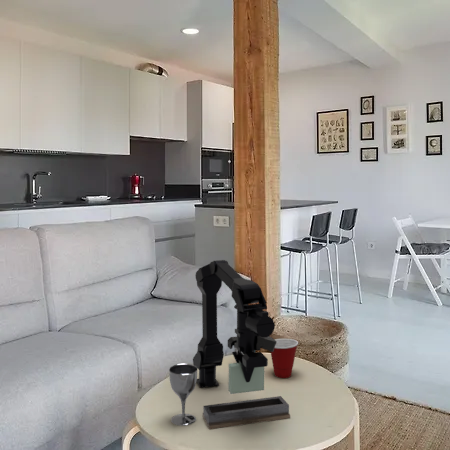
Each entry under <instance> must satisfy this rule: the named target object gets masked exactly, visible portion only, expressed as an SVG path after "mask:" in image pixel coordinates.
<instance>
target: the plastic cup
mask: <svg viewBox="0 0 450 450" xmlns="http://www.w3.org/2000/svg"><path fill="white" fill-rule="evenodd" d="M273 339H274V338H273ZM274 340H275V341H277V342H276V345H275V348H274V351H273V352H270V355H271V362H272V367H273V373H274V376H275V378H279V379H288V378H291V376H292V374H293V373H292V372H293V367H294V364H295V358H296V357H295V356H296V352H297V348H298V345H299V341H298V340H296V339H293V338H292V339H291V338H276V339H274Z"/></svg>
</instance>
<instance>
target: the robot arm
mask: <svg viewBox="0 0 450 450" xmlns="http://www.w3.org/2000/svg"><path fill="white" fill-rule="evenodd" d="M195 281H196V285H197V289H199V291H200V293H201V308H202V310H201V311H202V312H201V313H202V314H201V316H202V318H201V319H202V324H201V325H202V336H201V339H200V340H199V342H198V344H197V351H196V353H195V355H194V356H193V358H192V365H194V366H196V367H197V370H198V378H197V382H196V384H197V385H198V386H199V388H201V389H202V388H210V387H211V388H212V387H217V386H220V383H219V382H218V380H217V367H220V366H222V365H223V361H224V355H225V353H224V345H223V343H221V341H220V339H219V338H218V293H219V292H220V289H221V288H222V285H223V283H224V284H225V285H226V287H227V288H228V289H229V290H230V291H231V298H232V299H233V301H234V303H235V305H234V308H233V309H236V328H234V333H235V335H236V336H230V337H229V338H228V339H227V347H228V349H229V350H232V349H233V348H234V351H232V352H231V353H232V356H233V358H234V360H235V363H240V366H241V369H242V372H243V375H244V378H245V381H246V382H250V380H251V377H252V373H253V370H254V368H256V367H264V368H265V367H267V366H268V365H269V363H268V362H269V360H268V357H267V356H266V355H264V354H263V353H262V352H261V349H262V350H266V351H269V352H270V353H271V352H273V351H274V348H275V345H276V342H277V341H275V340H274V338H273V337H272V336H271V335H272V334H273V332H274V331H275V326H276V325H275V321H274V320H273V318H272V317H271V316H269V311H266V310H268V306H267V302H268V301H266V299H265V296H264V294H263V291H262V288H261V286H260V285H259V283H257V282H255V281H253V280H251V279H247V278H244V277H242V275H240V274H239V273H238V272H237V271H236V270H235V269H234V268H233V267H232V266H231V265H230V264H229V261H227V260H225V259H219V260H213V261H210V262H209V263H208V264H206V265H204V266H202V267H199V268H198V270H197V271H196V272H195ZM255 350H256V352H254V351H255Z"/></svg>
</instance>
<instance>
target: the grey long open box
mask: <svg viewBox="0 0 450 450" xmlns="http://www.w3.org/2000/svg"><path fill="white" fill-rule="evenodd" d="M202 408H203V409H202V410H203V412H202V417H203V420H204V422H205V423H206V425H207V428H208V429H209V430H214V429H221V428H222V429H223V428H228V427H235V426H237V427H238V426H243V425H248V424H251V425H252V424H257V423H263V422H264V423H265V422H272V421H278V420H279V421H280V420H284V419H285V420H287V419H291V414H290V411H289V410H290V405H289V403H288V402H287V401H286V400H285V399H284V398H283V396H281V395H277V396H272V397H271V396H270V397H264V398H263V397H262V398H256V399H254V398H253V399H247V400H238V401H232V402H223V403H222V402H221V403H214V404H208V405H203V406H202Z"/></svg>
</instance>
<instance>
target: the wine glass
mask: <svg viewBox="0 0 450 450" xmlns="http://www.w3.org/2000/svg"><path fill="white" fill-rule="evenodd" d="M168 377H169V383H170V388H171V390H172V391H173V392H174V393H175V394H176V395H177V397H178V398H179V399H180V402H181V413H178V414H175V415H174V416H172V417H171V418H170V421H171V423H172V424H173V425H175V426H181V427H183V426H184V427H185V426H189V425H192V424H195V423H196V421H197V419H196V416H194V415H193V414H190V413H186V412H185V411H186V403H187V399H188V397H189V396H190V395H191V394H192V393H193V392H194V390H195V389H196V386H197V379H198V369H197V367H196V366H194V365H193V364H190V363H177V364H174V365H172V366H170V367H169V369H168Z"/></svg>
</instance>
